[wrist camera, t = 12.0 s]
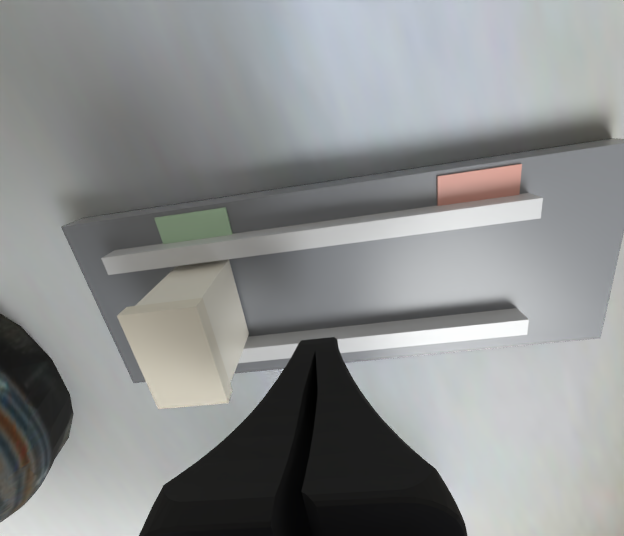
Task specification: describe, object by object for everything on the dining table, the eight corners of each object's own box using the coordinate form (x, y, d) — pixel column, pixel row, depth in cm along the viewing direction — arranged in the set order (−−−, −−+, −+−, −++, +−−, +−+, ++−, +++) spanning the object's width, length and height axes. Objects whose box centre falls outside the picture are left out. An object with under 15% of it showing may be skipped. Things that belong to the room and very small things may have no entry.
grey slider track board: (578, 321, 17) (616, 351, 15) (147, 365, 20) (123, 396, 18) (612, 138, 14) (668, 141, 12) (83, 218, 16) (43, 233, 14)
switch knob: (252, 335, 17) (228, 403, 13) (198, 340, 17) (158, 409, 13) (231, 257, 15) (196, 306, 11) (172, 264, 15) (116, 316, 11)
